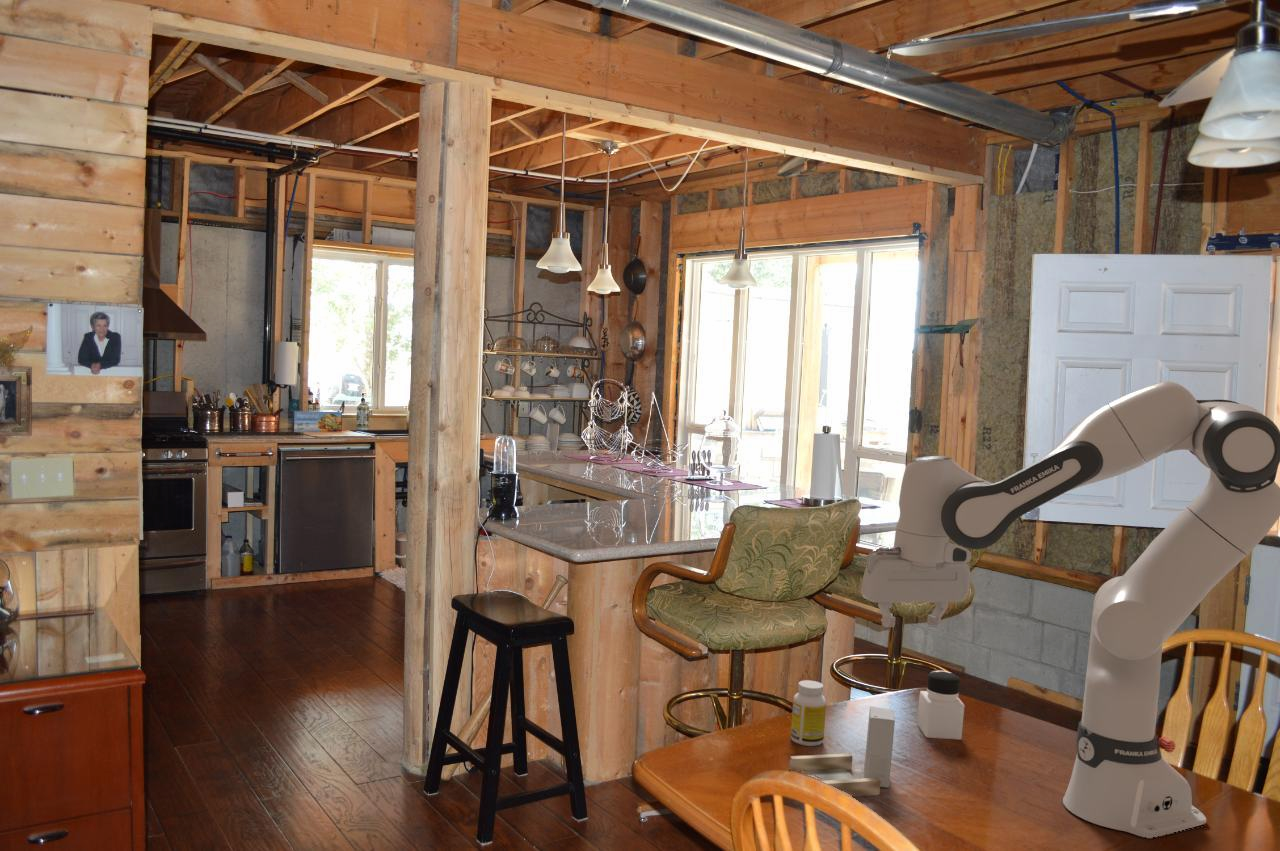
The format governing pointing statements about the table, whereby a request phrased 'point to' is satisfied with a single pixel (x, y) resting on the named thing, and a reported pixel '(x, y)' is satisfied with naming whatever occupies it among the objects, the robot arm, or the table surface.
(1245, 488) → the robot arm
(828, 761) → the rest
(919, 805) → the table surface
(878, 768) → the skincare box
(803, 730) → the pill bottle
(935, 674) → the medicine bottle
